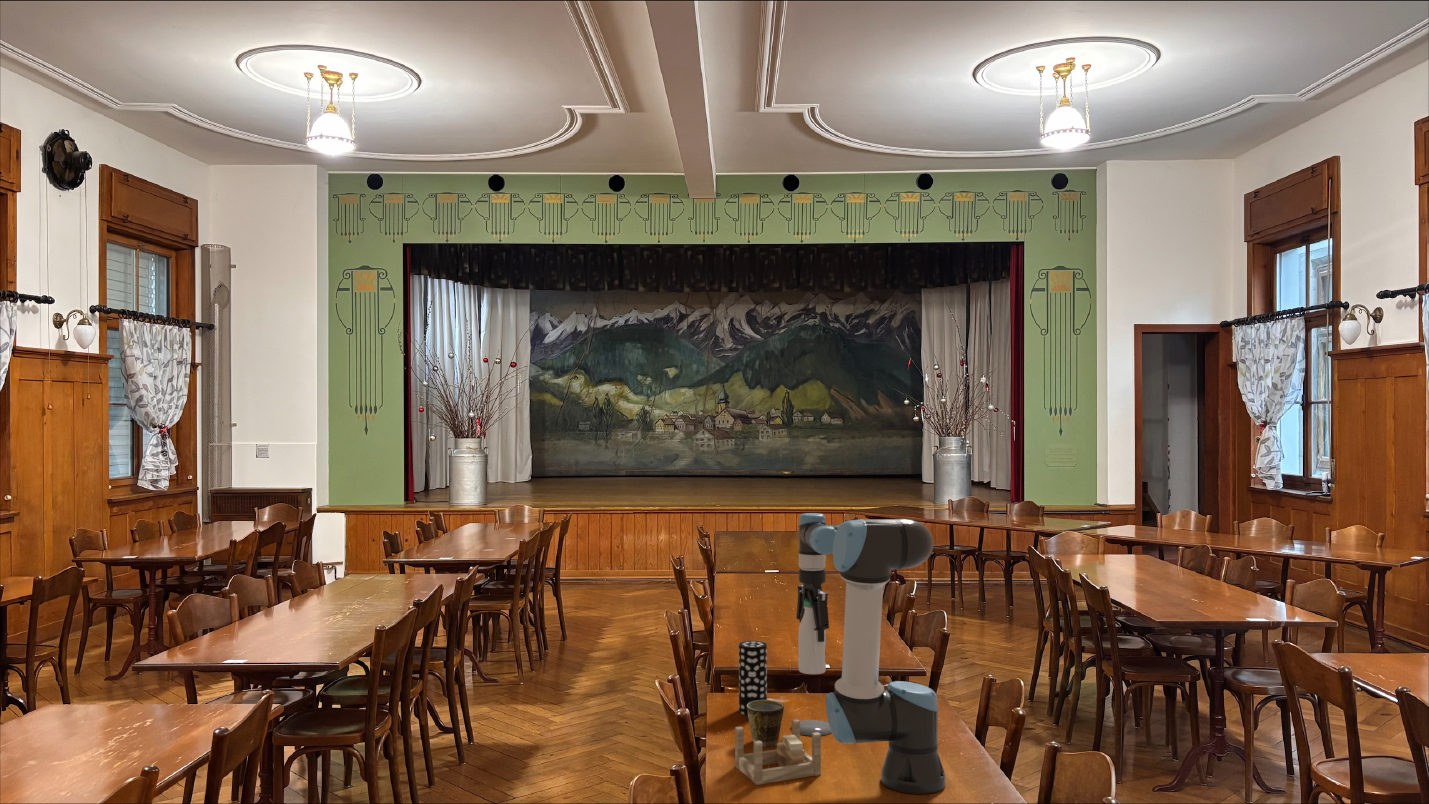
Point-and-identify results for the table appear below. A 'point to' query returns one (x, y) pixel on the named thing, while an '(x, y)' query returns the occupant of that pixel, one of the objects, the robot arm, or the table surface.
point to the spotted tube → (752, 673)
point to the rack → (775, 759)
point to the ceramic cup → (765, 720)
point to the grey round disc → (814, 727)
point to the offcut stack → (790, 751)
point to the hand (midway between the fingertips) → (812, 649)
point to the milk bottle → (809, 645)
